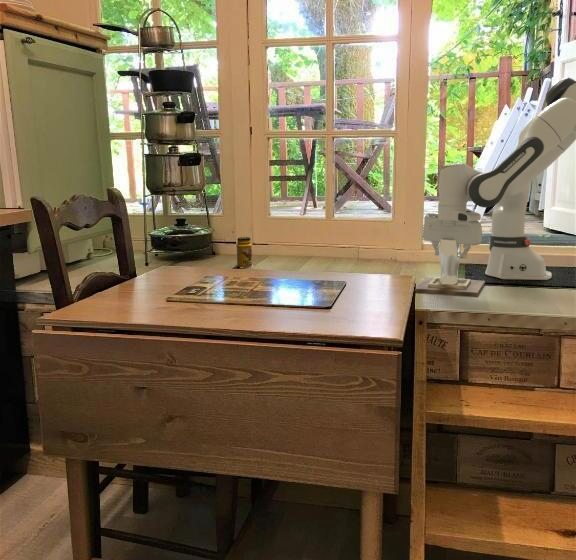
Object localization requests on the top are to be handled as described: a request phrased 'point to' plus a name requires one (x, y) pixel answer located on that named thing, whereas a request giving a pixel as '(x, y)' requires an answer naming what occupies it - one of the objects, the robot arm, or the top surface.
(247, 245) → the condiment
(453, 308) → the top surface
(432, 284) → the walnut board
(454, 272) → the beer glass
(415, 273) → the top surface
